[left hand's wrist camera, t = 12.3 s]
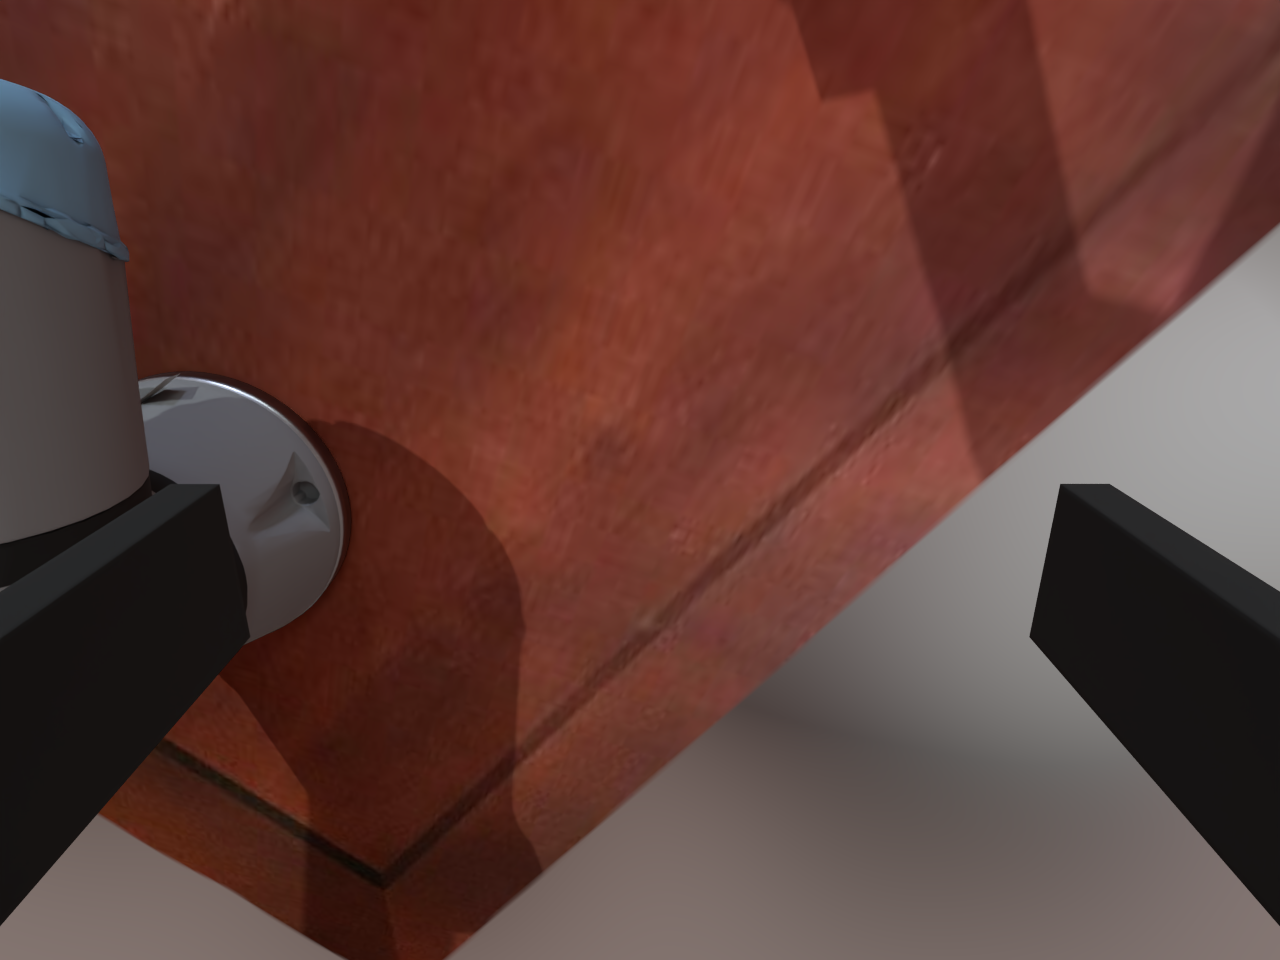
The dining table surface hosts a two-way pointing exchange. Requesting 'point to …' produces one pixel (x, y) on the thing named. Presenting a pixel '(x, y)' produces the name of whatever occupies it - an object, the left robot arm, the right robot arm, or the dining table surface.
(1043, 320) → the dining table surface
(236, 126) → the dining table surface
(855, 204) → the dining table surface
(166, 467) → the left robot arm
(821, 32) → the dining table surface
